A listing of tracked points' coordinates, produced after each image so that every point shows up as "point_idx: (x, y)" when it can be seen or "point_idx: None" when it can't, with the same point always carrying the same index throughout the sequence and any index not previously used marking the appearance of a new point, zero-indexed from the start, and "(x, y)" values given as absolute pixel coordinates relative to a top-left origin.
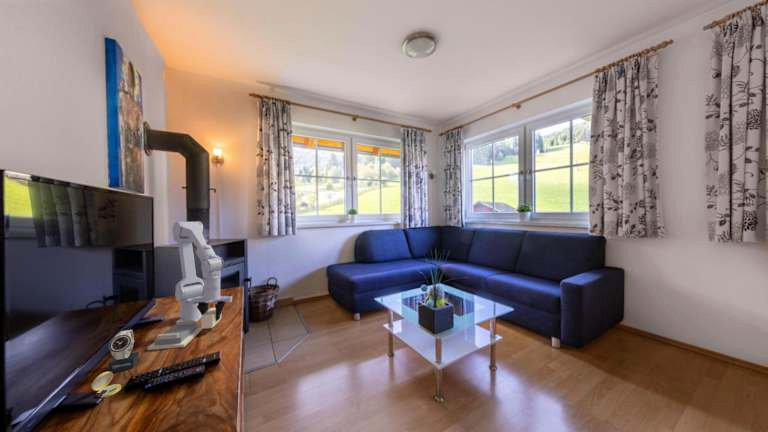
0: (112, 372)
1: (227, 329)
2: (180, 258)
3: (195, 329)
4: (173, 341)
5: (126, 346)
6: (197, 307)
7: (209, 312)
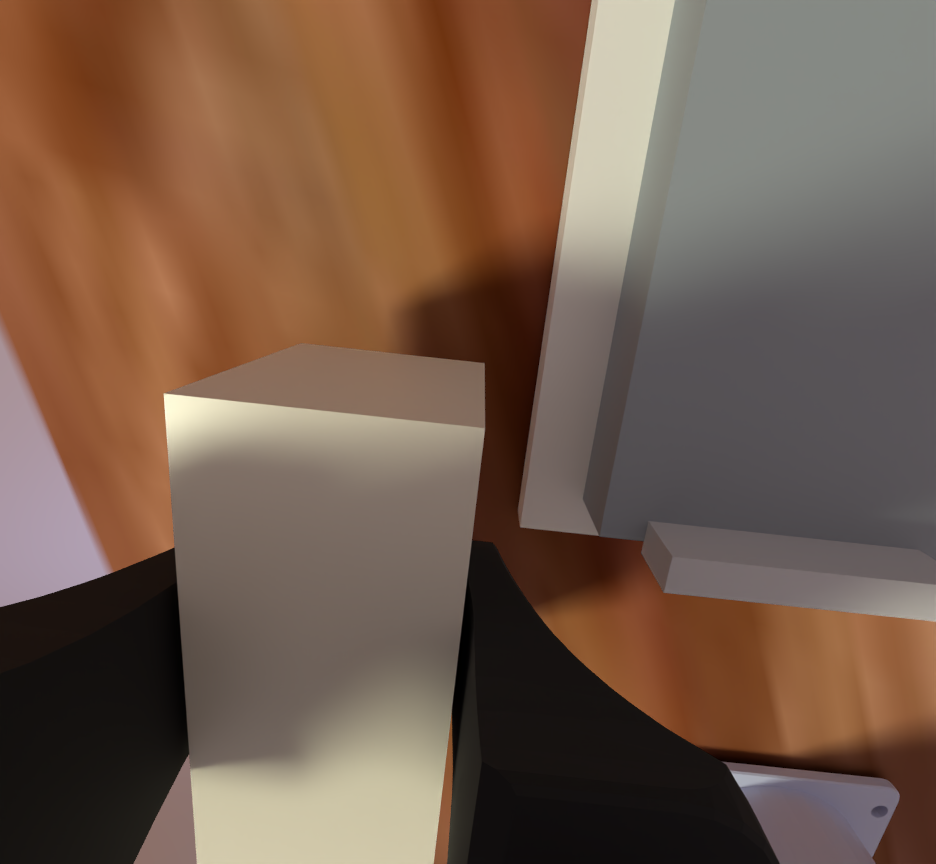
0: None
1: None
2: None
3: (590, 459)
4: None
5: None
6: (725, 779)
7: (352, 647)
